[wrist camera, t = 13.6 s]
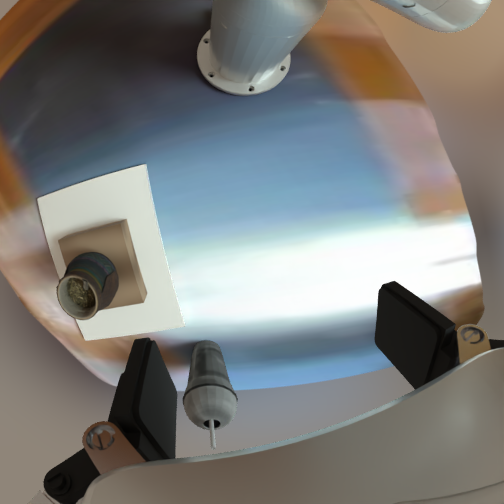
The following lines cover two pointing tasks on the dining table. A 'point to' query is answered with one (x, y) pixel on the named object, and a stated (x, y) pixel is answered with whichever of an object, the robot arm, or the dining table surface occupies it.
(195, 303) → the dining table surface
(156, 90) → the dining table surface
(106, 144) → the dining table surface
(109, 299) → the mate gourd
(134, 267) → the walnut plinth
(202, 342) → the beverage cup
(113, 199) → the board
